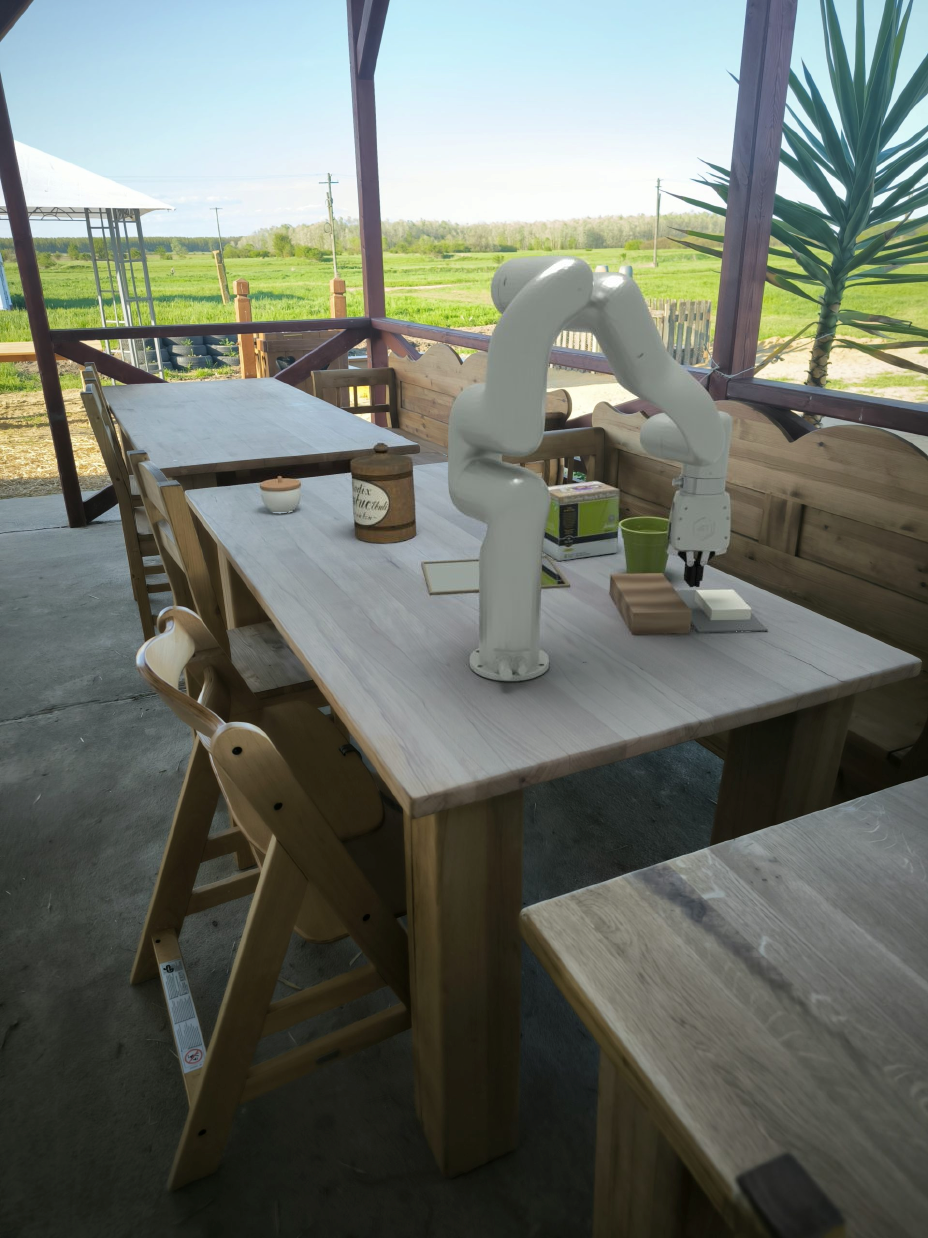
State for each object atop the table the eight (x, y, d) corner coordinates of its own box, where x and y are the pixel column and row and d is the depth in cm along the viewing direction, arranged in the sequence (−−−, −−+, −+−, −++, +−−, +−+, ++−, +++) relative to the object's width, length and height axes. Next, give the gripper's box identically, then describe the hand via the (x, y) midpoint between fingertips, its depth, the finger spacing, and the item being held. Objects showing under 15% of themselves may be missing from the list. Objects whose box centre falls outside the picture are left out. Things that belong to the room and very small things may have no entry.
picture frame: (429, 597, 159) (569, 589, 162) (429, 592, 158) (570, 584, 162) (421, 566, 176) (547, 559, 180) (421, 561, 176) (547, 555, 179)
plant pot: (627, 564, 174) (630, 513, 170) (681, 573, 169) (686, 521, 164) (606, 581, 165) (609, 527, 161) (663, 591, 159) (668, 535, 155)
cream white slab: (712, 609, 144) (711, 620, 144) (751, 609, 144) (750, 619, 144) (695, 590, 153) (694, 600, 154) (732, 589, 153) (731, 599, 154)
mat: (767, 631, 140) (767, 629, 140) (698, 633, 140) (698, 630, 140) (729, 591, 159) (729, 589, 159) (667, 592, 159) (668, 590, 158)
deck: (689, 633, 140) (691, 611, 138) (631, 634, 140) (633, 612, 138) (660, 592, 158) (662, 573, 157) (609, 593, 158) (610, 574, 157)
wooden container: (342, 534, 198) (336, 443, 189) (391, 523, 207) (387, 435, 198) (378, 547, 187) (374, 451, 179) (428, 535, 196) (426, 443, 188)
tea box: (595, 541, 190) (598, 479, 184) (617, 554, 181) (622, 488, 176) (537, 549, 185) (538, 485, 179) (557, 562, 176) (559, 495, 171)
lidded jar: (268, 506, 224) (264, 472, 220) (307, 506, 223) (304, 472, 220) (257, 516, 214) (253, 481, 210) (298, 516, 213) (294, 481, 210)
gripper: (665, 490, 137) (656, 592, 144) (753, 489, 137) (740, 591, 144) (654, 480, 144) (646, 578, 151) (738, 479, 144) (726, 576, 151)
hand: (692, 584), depth 147 cm, fingers closed
